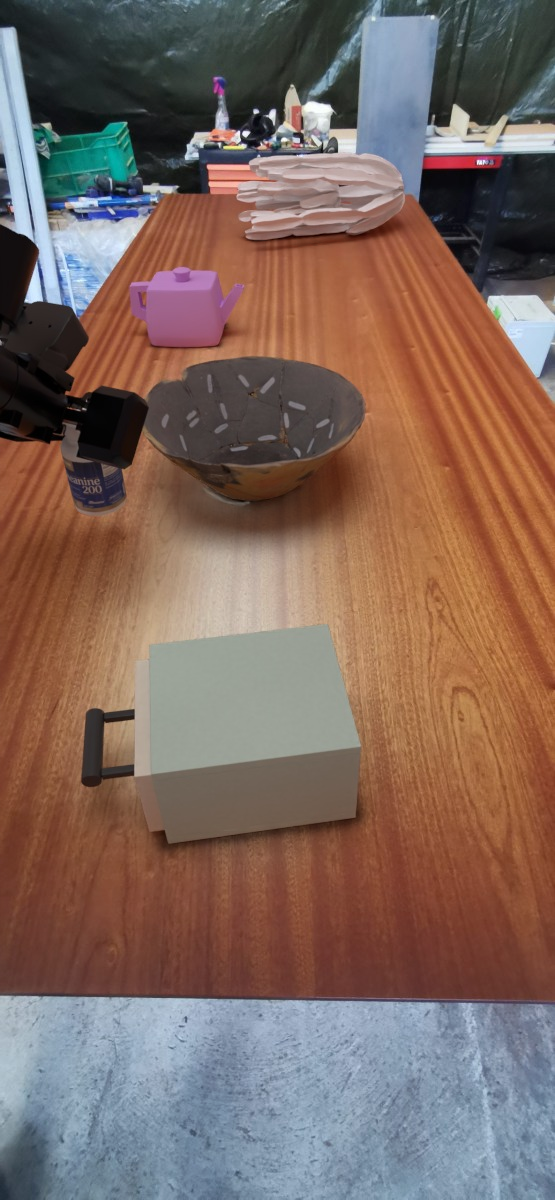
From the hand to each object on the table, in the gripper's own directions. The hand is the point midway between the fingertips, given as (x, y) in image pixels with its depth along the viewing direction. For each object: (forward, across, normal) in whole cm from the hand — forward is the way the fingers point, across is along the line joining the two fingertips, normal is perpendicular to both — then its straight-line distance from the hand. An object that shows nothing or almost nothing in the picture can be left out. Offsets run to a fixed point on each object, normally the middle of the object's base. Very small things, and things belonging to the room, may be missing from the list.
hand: (97, 440), depth 72 cm
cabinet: (-6, -27, +23) cm, 36 cm away
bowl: (+19, -9, -3) cm, 21 cm away
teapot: (+42, +19, -27) cm, 54 cm away
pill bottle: (+4, 0, +6) cm, 7 cm away
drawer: (-9, -24, +24) cm, 35 cm away
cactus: (+81, +20, -67) cm, 107 cm away
